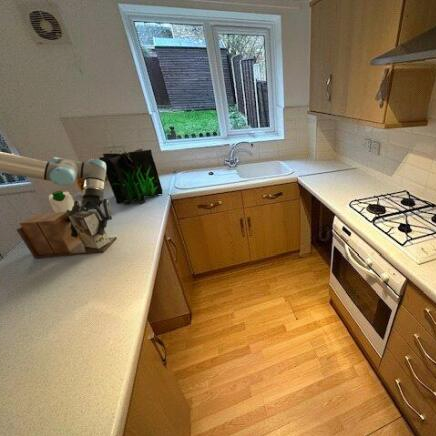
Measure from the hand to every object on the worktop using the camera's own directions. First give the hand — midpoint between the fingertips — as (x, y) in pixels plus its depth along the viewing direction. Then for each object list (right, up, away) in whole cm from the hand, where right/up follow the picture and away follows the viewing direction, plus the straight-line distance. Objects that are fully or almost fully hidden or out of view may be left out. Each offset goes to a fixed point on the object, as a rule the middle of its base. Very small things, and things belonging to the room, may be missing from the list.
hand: (87, 235), depth 107 cm
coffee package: (-53, +24, +65) cm, 87 cm away
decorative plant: (-15, +23, +62) cm, 67 cm away
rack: (-9, -6, +5) cm, 12 cm away
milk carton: (-29, +4, +25) cm, 39 cm away
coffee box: (0, -5, +6) cm, 7 cm away
